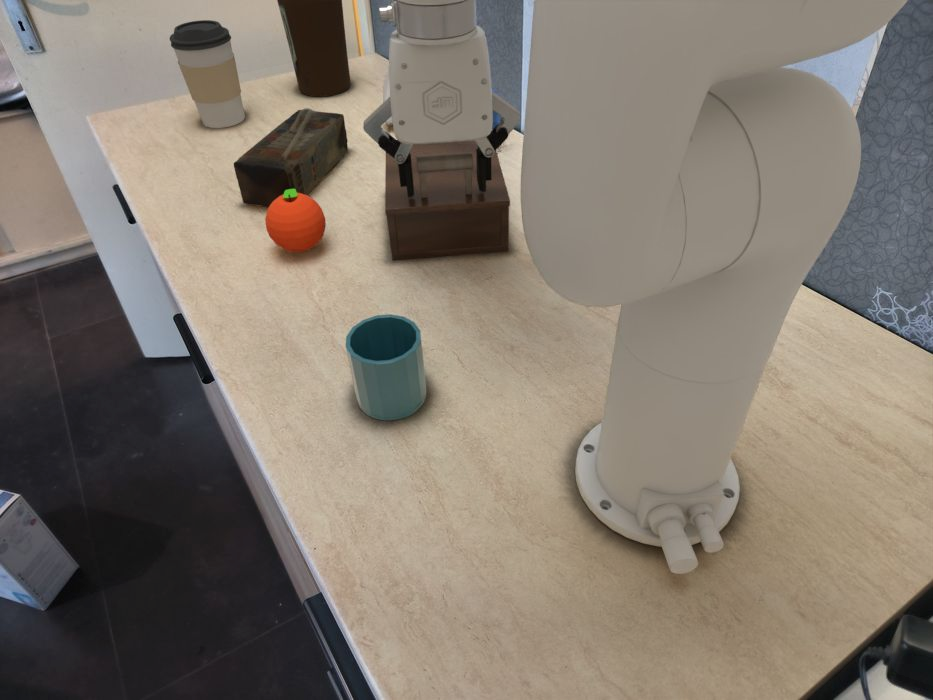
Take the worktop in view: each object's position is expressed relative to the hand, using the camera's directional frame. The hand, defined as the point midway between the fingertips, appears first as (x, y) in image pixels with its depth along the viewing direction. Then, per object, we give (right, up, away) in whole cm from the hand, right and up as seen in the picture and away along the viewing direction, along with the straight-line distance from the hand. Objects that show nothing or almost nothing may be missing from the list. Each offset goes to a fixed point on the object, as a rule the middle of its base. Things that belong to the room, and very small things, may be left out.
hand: (446, 187), depth 73 cm
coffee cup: (-38, +21, +37) cm, 57 cm away
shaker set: (-6, +19, +34) cm, 40 cm away
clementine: (-18, -5, +7) cm, 20 cm away
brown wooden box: (0, -2, +10) cm, 10 cm away
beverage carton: (-22, +6, +21) cm, 31 cm away
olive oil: (-24, +30, +47) cm, 60 cm away
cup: (-5, -22, -12) cm, 26 cm away
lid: (0, +3, +6) cm, 6 cm away
